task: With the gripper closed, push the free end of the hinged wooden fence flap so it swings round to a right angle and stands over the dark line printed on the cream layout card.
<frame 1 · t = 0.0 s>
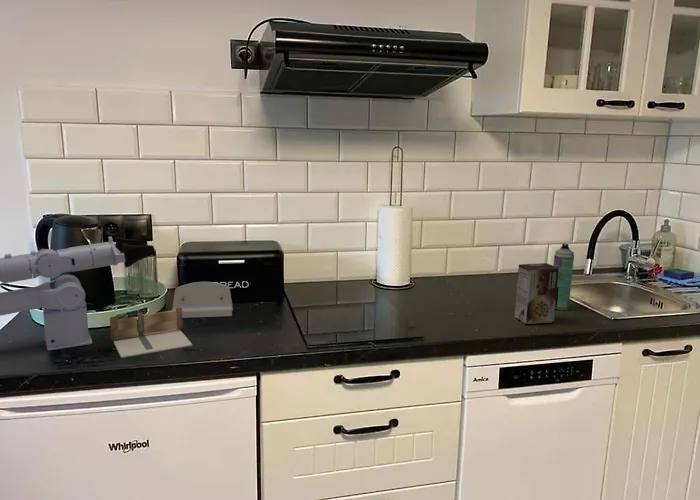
hand: (150, 247, 138), 22 cm above the counter, tool horizontal, fingers open, 7 cm apart
fence flap: (160, 321, 139), point 3 cm above the counter, hinge at 0.0°
spray can: (558, 308, 170), on the counter
layout card: (151, 341, 134), on the counter
hinge: (203, 314, 157), on the counter
coffee box: (533, 321, 157), on the counter
fence fixed: (126, 339, 136), resting on layout card
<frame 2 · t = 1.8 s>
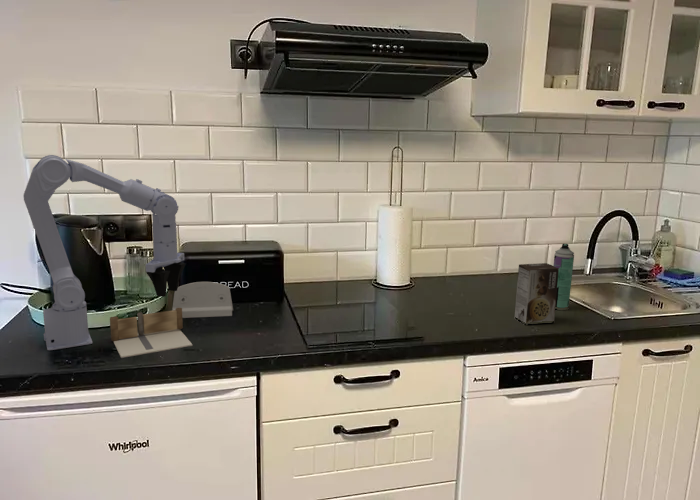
hand: (167, 293, 142), 9 cm above the counter, tool pointing down, fingers open, 5 cm apart
nothing on the counter moved.
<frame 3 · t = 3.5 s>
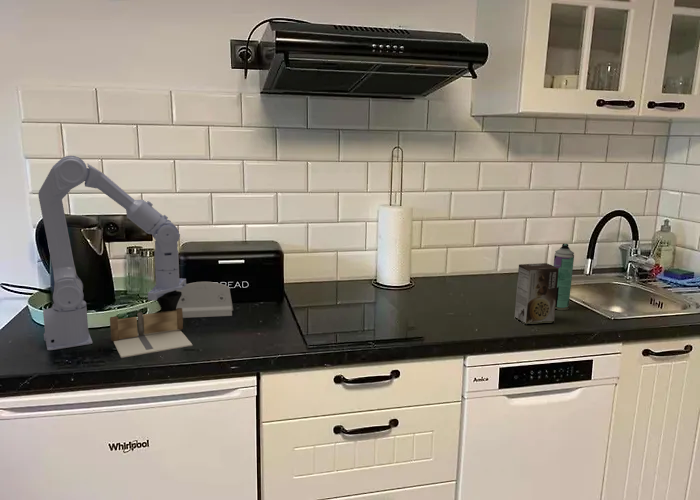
hand: (169, 319, 142), 3 cm above the counter, tool pointing down, fingers closed
fence flap: (160, 321, 139), point 3 cm above the counter, hinge at -2.0°, touching gripper
everything else where it was.
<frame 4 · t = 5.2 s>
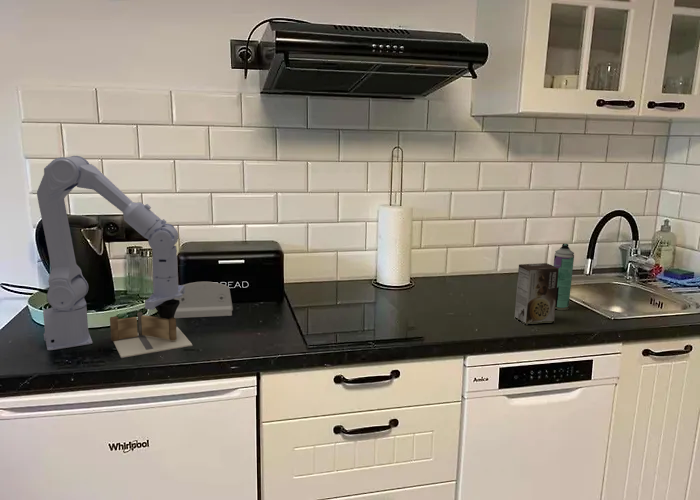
hand: (167, 329, 136), 3 cm above the counter, tool pointing down, fingers closed, pressing on fence flap
fence flap: (156, 326, 135), point 3 cm above the counter, hinge at -50.1°, touching gripper
everything else where it was.
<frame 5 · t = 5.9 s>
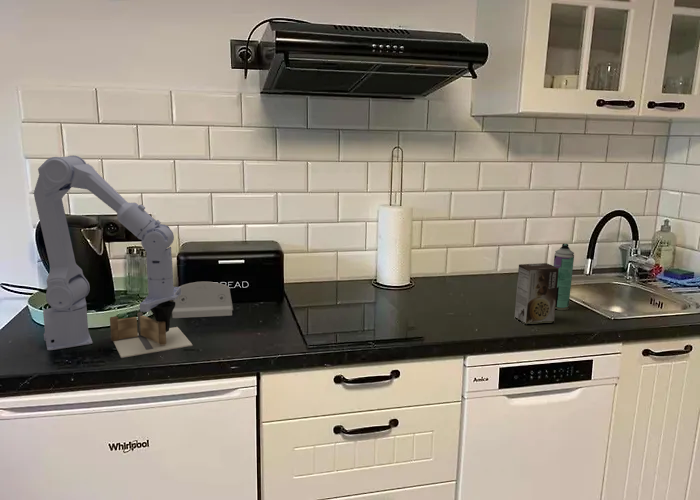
hand: (163, 331, 134), 3 cm above the counter, tool pointing down, fingers closed, pressing on fence flap
fence flap: (151, 328, 134), point 3 cm above the counter, hinge at -70.2°, touching gripper
everything else where it was.
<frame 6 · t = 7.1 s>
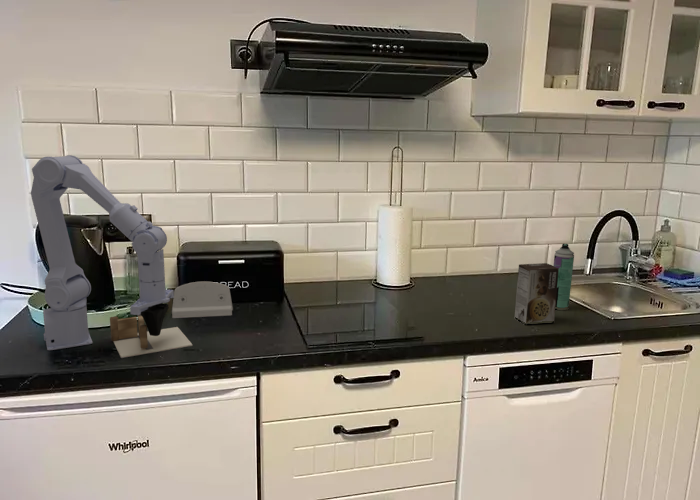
hand: (154, 334, 131), 3 cm above the counter, tool pointing down, fingers closed
fence flap: (142, 330, 132), point 3 cm above the counter, hinge at -96.7°, touching gripper
everything else where it was.
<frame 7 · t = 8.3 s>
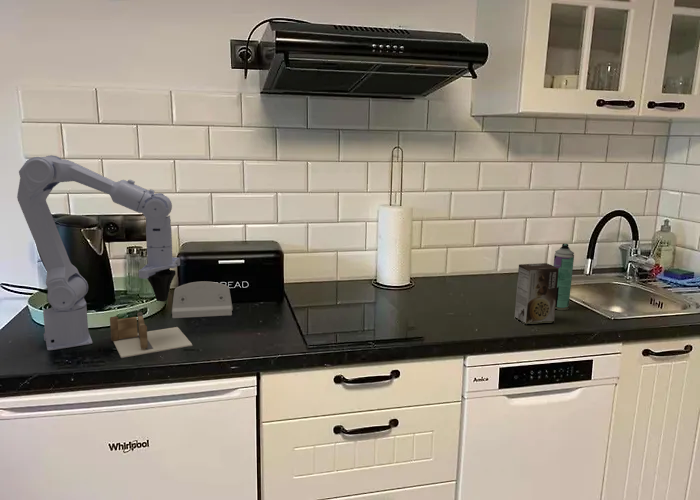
hand: (161, 300, 134), 10 cm above the counter, tool pointing down, fingers closed
fence flap: (142, 330, 132), point 3 cm above the counter, hinge at -96.8°
everything else where it was.
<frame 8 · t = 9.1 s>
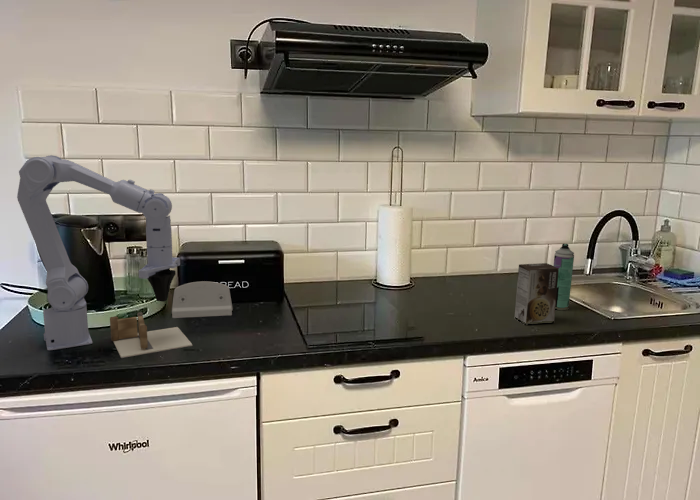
hand: (161, 300, 134), 10 cm above the counter, tool pointing down, fingers closed
nothing on the counter moved.
at the end: fence flap at -97° (first picture: +0°) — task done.
